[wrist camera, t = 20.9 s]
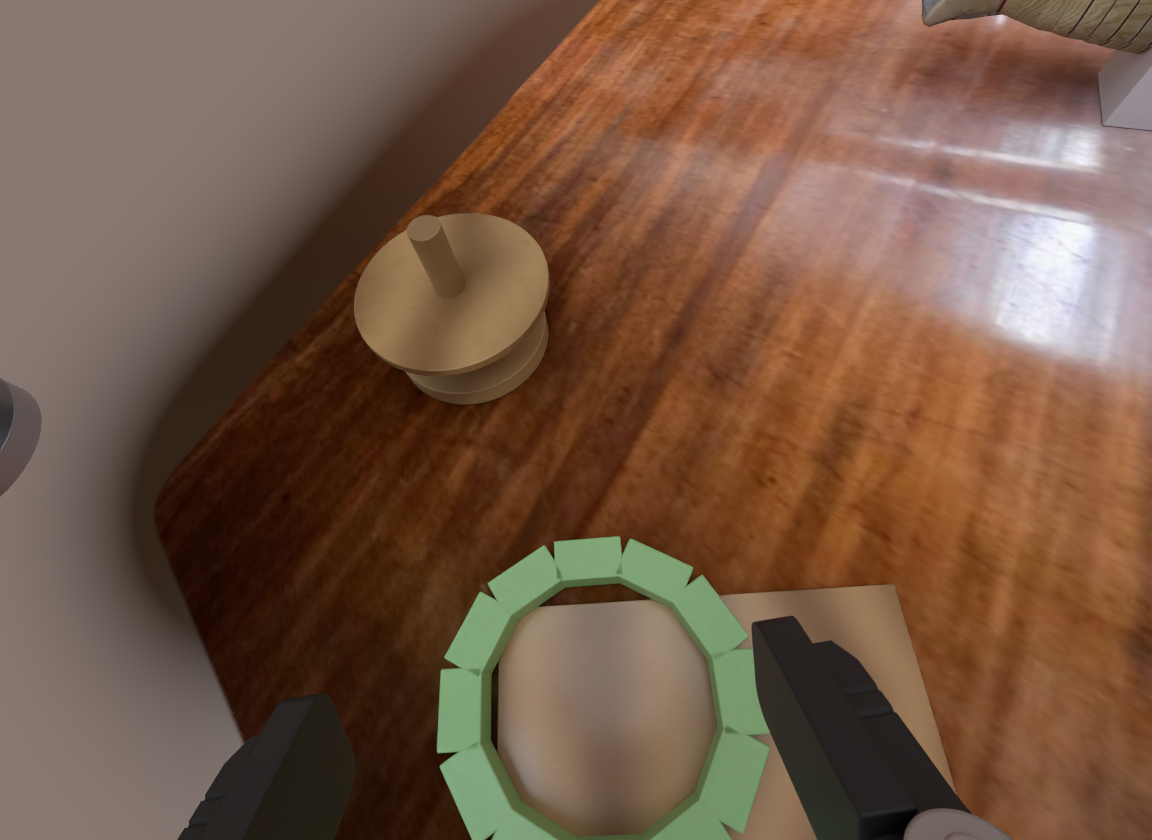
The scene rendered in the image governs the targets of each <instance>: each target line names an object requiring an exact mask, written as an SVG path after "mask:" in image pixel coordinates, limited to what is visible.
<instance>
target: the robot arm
mask: <svg viewBox="0 0 1152 840" xmlns="http://www.w3.org/2000/svg"><path fill="white" fill-rule="evenodd" d="M751 631H752V644H753V657H754V670H755V682H756V690H757V695H758V700H759V704H760V707H761V711H762V714H763V717H764V719H765V722H766V724H767V727H768V729H769V731H770V734H771V736H772V738H773V740H774V743H775V745H776V747H777V749H778V752H779V754H780V756H781V759H782V761H783V763H784V765H785V768H786V770H787V772H788V774H789V777H790V779H791V781H792V784H793V786H794V788H795V790H796V793H797V795H798V797H799V799H800V802H801V804H802V806H803V809H804V811H805V813H806V815H807V818H808V820H809V822H810V824H811V827H812V829H813V831H814V833H815V836H816V838H817V840H1013V839H1011V838H1010V837H1009V836H1008V835H1007V834H1006V833H1004V832H1003V831H1001V830H1000V829H999V828H997V827H996V826H994V825H992V824H991V823H989V822H987V821H986V820H984V819H982V818H979V817H977V816H975V815H973V814H972V813H971V812H970V811H969V810H968V809H967V808H966V806H965V805H964V804H963V803H962V802H961V800H960V799H959V798H958V796H957V795H956V794H955V792H954V791H953V790H952V788H951V787H950V785H949V784H948V783H947V781H946V780H945V778H944V777H943V776H942V774H941V773H940V772H939V770H938V769H937V767H936V766H935V765H934V763H933V762H932V761H931V759H930V758H929V756H928V755H927V754H926V752H925V751H924V750H923V748H922V747H921V745H920V744H919V743H918V741H917V740H916V738H915V737H914V736H913V734H912V733H911V732H910V730H909V729H908V727H907V726H906V725H905V723H904V722H903V721H902V719H901V718H900V716H899V715H898V714H897V712H896V713H895V712H894V711H893V707H892V705H891V704H890V703H889V701H888V700H887V698H886V697H885V696H884V694H883V693H882V692H881V690H878V688H877V685H876V683H875V682H874V681H873V679H872V678H871V676H870V675H869V674H868V672H867V671H866V670H865V668H864V667H863V665H862V664H861V663H860V661H859V660H858V659H857V658H855V657H854V656H853V655H851V654H850V653H848V652H847V651H846V650H844V649H843V648H841V647H840V646H839V645H837V644H836V643H834V642H833V641H832V640H830V641H824V642H818V643H812V642H811V640H810V638H809V637H808V635H807V634H806V632H805V631H804V629H803V628H802V626H801V624H800V623H799V621H798V620H797V619H796V618H795V617H794V616H792V615H791V616H785V617H779V618H774V619H768V620H762V621H756V622H753V623H752V626H751ZM354 775H355V761H354V755H353V751H352V748H351V746H350V743H349V741H348V738H347V736H346V733H345V731H344V728H343V726H342V724H341V721H340V719H339V716H338V714H337V711H336V709H335V706H334V704H333V701H332V699H331V698H330V696H329V695H327V694H325V693H321V694H315V695H309V696H303V697H298V698H292V699H286V700H283V701H281V702H280V703H279V704H278V705H277V706H276V708H275V709H274V711H273V713H272V714H271V716H270V718H269V720H268V721H267V723H266V725H265V726H264V728H263V730H262V732H261V733H260V735H255V736H251V737H250V738H249V739H248V740H247V741H246V742H245V743H244V745H243V746H242V747H241V748H240V749H239V750H238V751H237V752H236V753H235V754H234V755H233V756H232V757H231V758H230V759H229V760H228V761H227V762H226V763H225V764H224V766H223V767H222V769H221V770H220V772H219V774H218V775H217V777H216V778H215V780H214V782H213V783H212V785H211V787H210V788H209V790H208V791H207V793H206V795H205V800H204V801H201V803H200V804H199V806H198V807H197V809H196V811H195V812H194V814H193V816H192V817H191V819H190V821H189V826H188V828H184V830H183V832H182V833H181V835H180V837H179V838H178V840H334V838H335V835H336V832H337V829H338V827H339V824H340V821H341V818H342V816H343V813H344V810H345V807H346V804H347V802H348V799H349V796H350V793H351V790H352V787H353V782H354Z"/></svg>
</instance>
